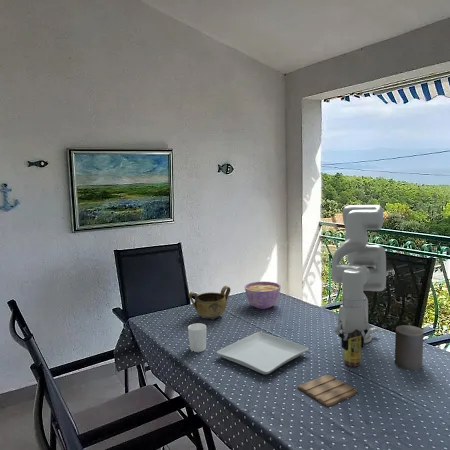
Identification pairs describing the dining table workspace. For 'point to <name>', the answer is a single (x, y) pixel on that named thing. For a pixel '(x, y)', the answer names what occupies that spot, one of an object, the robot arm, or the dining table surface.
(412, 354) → the pillar candle
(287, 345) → the square plate
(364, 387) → the dining table surface
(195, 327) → the white cup
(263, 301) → the bowl of food
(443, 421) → the dining table surface
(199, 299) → the ceramic bowl
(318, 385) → the trivet
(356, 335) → the sauce bottle
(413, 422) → the dining table surface
